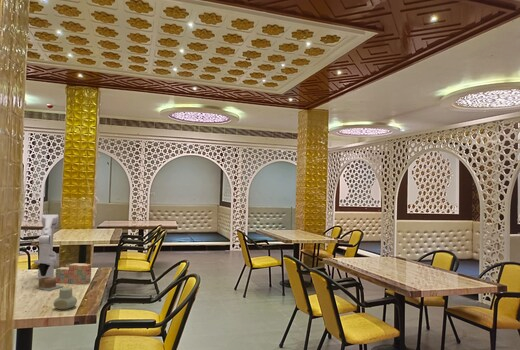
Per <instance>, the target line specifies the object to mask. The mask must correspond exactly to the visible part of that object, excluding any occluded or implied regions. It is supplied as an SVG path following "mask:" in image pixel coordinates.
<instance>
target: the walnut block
mask: <svg viewBox="0 0 520 350" xmlns="http://www.w3.org/2000/svg"><path fill="white" fill-rule="evenodd" d="M37 283H38V286H37V288H38V287H43V288H52V287H56V285H57V283H56V278H49V277H44V278H39V279H38V282H37Z"/></svg>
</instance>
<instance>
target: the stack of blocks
mask: <svg viewBox="0 0 520 350" xmlns="http://www.w3.org/2000/svg"><path fill="white" fill-rule="evenodd" d="M70 264H71V265H69V264H68V265H69V267H66V266H61V267H58V268H55V276H54V277H55V278H56V284H70V285H71V284H72V285H87V284H90V283H91V282H92V281H91V280H92V277H91V276H92V263H76V262H75V263H70Z"/></svg>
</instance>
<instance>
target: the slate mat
mask: <svg viewBox="0 0 520 350" xmlns="http://www.w3.org/2000/svg"><path fill="white" fill-rule="evenodd" d="M61 288H64V285H57V284H56V287H52V288H43V287H38V286H37V287H35V289H36V290H41V291H46V292H51V291H54V290H58V289H59V290H60V289H61Z"/></svg>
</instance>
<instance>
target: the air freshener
mask: <svg viewBox="0 0 520 350" xmlns="http://www.w3.org/2000/svg"><path fill="white" fill-rule="evenodd" d="M58 295H59V296H58V297H57V298H55V300H54V301H53V306H54V308H56V309H58V310H60V311H62V310H63V311H65V310H69V309H72V308H73V307H74V306H77V303H78V300H77V297H75V296H74V295H73V288H72V287H62V288H59V293H58Z"/></svg>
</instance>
